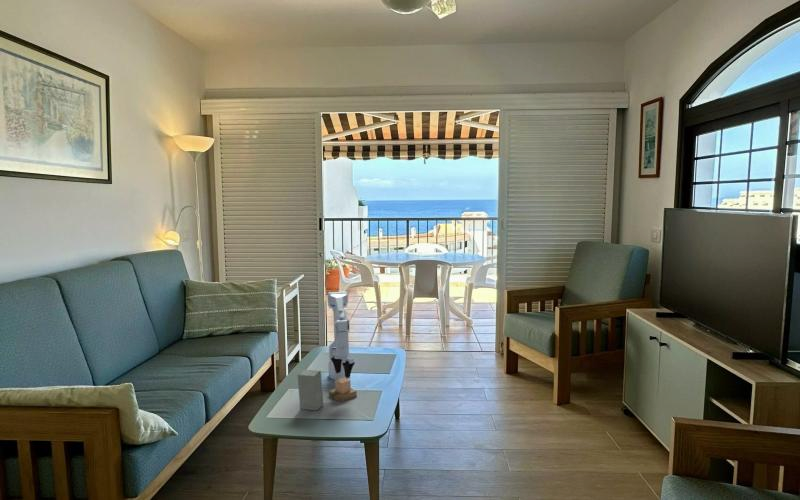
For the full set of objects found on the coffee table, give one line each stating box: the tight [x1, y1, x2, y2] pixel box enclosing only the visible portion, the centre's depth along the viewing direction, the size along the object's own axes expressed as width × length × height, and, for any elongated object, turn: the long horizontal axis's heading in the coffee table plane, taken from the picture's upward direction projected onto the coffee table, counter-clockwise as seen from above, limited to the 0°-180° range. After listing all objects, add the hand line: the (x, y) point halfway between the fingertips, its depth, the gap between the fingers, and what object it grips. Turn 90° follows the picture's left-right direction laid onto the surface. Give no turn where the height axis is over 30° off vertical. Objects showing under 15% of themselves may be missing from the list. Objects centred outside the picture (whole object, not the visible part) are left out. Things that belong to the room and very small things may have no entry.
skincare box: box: [296, 368, 324, 411], centre depth 198 cm, size 8×7×16 cm
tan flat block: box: [328, 387, 358, 403], centre depth 210 cm, size 9×9×3 cm
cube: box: [334, 378, 352, 394], centre depth 209 cm, size 5×5×5 cm
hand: (342, 374), depth 209 cm, fingers open, 7 cm apart
